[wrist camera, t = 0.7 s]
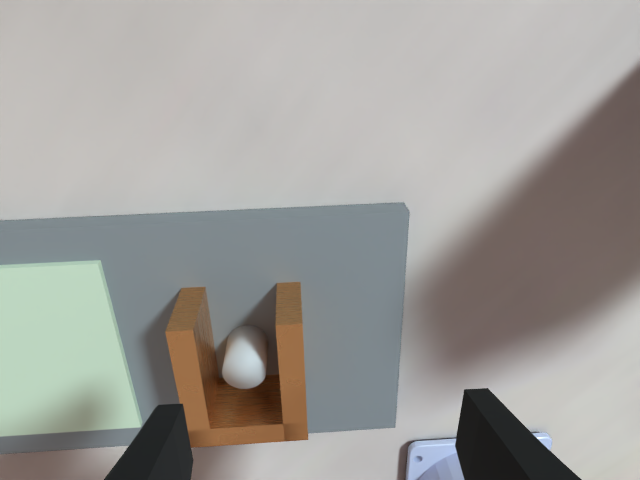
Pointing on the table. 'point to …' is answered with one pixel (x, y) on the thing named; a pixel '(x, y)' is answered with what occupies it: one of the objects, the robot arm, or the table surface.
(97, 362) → the peg board
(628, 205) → the table surface
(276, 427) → the c link
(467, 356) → the table surface
